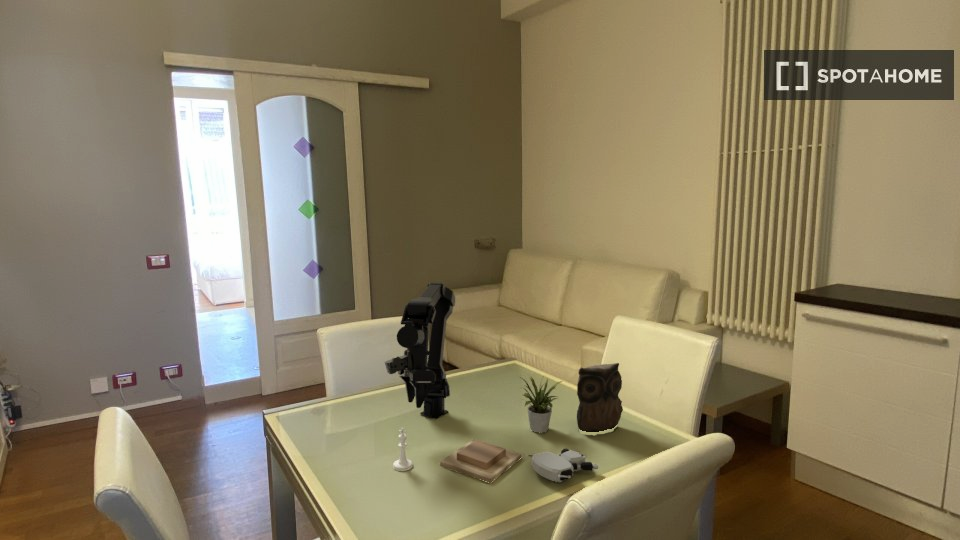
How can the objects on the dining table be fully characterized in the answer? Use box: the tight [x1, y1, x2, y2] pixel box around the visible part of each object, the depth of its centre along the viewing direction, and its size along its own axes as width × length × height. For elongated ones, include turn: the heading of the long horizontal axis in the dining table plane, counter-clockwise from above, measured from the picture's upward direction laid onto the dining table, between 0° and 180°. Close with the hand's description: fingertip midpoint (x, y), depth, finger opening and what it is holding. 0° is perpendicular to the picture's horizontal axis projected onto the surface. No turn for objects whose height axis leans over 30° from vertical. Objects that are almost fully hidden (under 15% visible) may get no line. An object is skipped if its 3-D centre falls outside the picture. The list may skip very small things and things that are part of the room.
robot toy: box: [524, 448, 599, 483], centre depth 128 cm, size 12×4×15 cm
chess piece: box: [392, 427, 414, 472], centre depth 130 cm, size 5×5×10 cm
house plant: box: [516, 375, 563, 434], centre depth 152 cm, size 14×14×16 cm
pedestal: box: [439, 438, 523, 484], centre depth 133 cm, size 15×15×3 cm
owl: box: [576, 362, 624, 432], centre depth 151 cm, size 13×13×20 cm
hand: (414, 405), depth 141 cm, fingers open, 9 cm apart
